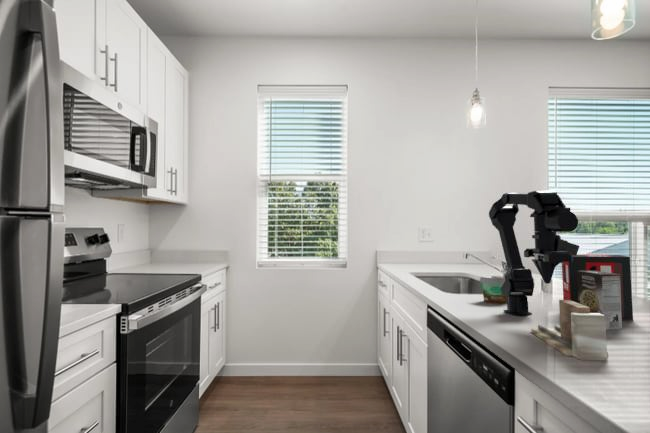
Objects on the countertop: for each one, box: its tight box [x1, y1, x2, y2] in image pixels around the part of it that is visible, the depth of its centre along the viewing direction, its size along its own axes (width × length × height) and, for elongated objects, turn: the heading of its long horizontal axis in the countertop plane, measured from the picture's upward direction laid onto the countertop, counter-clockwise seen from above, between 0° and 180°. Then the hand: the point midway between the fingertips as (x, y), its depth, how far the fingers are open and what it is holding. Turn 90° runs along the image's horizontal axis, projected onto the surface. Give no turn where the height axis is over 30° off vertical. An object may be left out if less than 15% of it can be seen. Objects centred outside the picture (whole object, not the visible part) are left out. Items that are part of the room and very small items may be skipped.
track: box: [530, 313, 609, 361], centre depth 92 cm, size 22×9×10 cm, turn 171°
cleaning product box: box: [561, 254, 634, 322], centre depth 121 cm, size 16×9×20 cm, turn 70°
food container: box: [479, 276, 507, 305], centre depth 144 cm, size 12×6×10 cm, turn 81°
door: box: [558, 299, 590, 343], centre depth 89 cm, size 9×3×10 cm, turn 171°
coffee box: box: [577, 270, 623, 331], centre depth 109 cm, size 9×6×16 cm
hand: (547, 283), depth 109 cm, fingers closed
